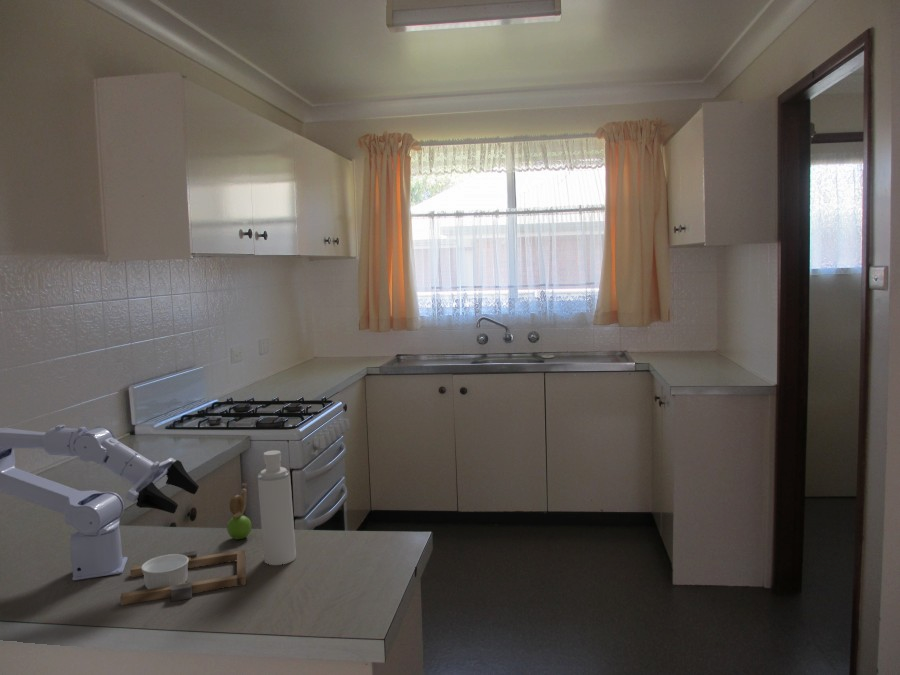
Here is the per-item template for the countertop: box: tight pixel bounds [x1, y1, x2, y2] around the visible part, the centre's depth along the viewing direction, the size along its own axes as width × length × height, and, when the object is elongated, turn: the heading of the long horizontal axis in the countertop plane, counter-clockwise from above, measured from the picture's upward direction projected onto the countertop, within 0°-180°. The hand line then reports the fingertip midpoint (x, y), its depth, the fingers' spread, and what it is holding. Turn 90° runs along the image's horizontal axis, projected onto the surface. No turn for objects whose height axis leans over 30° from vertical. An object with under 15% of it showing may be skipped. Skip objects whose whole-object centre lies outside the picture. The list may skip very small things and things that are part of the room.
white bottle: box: [257, 450, 297, 566], centre depth 153 cm, size 7×7×25 cm
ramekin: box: [141, 553, 189, 589], centre depth 145 cm, size 9×9×4 cm
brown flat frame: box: [119, 549, 247, 606], centre depth 146 cm, size 23×18×2 cm
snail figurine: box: [226, 483, 252, 540], centre depth 166 cm, size 5×6×12 cm
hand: (186, 499), depth 149 cm, fingers open, 7 cm apart
